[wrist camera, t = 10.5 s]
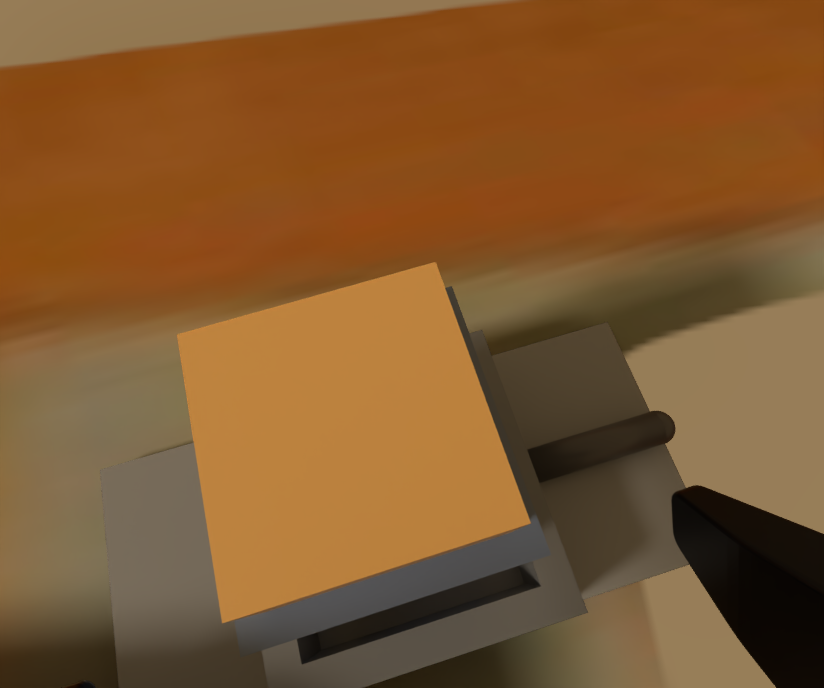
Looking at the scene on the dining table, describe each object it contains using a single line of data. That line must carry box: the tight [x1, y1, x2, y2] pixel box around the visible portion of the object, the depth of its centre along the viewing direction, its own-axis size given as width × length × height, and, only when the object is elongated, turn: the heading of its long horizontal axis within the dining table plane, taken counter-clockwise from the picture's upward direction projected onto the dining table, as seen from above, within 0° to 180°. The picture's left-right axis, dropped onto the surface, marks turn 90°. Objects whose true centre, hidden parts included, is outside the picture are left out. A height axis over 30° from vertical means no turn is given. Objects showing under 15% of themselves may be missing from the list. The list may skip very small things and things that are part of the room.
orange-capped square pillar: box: [177, 262, 551, 658], centre depth 14 cm, size 5×5×13 cm
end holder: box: [100, 322, 689, 688], centre depth 19 cm, size 9×20×4 cm, turn 106°
